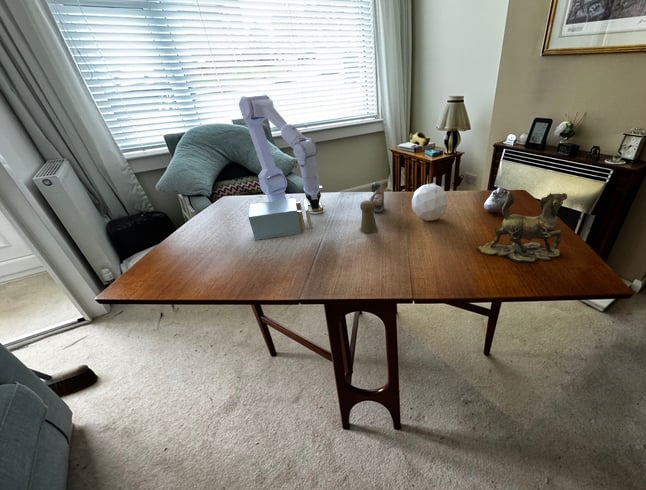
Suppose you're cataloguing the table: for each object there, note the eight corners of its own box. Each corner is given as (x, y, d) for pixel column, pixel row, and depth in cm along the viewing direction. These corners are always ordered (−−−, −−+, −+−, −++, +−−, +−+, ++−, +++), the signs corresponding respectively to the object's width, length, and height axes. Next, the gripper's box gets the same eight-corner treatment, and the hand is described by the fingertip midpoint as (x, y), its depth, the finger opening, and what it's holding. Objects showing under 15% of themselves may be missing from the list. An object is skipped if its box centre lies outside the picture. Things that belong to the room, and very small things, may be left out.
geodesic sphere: (463, 208, 114) (449, 172, 113) (434, 218, 107) (419, 180, 107) (439, 220, 127) (427, 188, 127) (413, 229, 121) (399, 195, 120)
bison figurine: (384, 214, 126) (383, 190, 121) (367, 214, 126) (366, 191, 121) (384, 203, 136) (383, 181, 130) (368, 204, 136) (367, 181, 131)
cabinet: (299, 219, 125) (294, 198, 119) (301, 232, 115) (296, 210, 109) (256, 226, 121) (250, 204, 116) (255, 240, 111) (248, 217, 106)
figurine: (565, 265, 91) (589, 200, 79) (478, 259, 95) (489, 197, 83) (554, 244, 101) (573, 184, 90) (476, 240, 105) (485, 182, 94)
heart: (513, 211, 124) (513, 181, 118) (507, 219, 117) (507, 188, 112) (488, 210, 129) (487, 182, 124) (481, 218, 123) (480, 189, 117)
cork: (377, 226, 117) (376, 198, 111) (375, 233, 112) (374, 204, 106) (362, 225, 118) (360, 198, 112) (359, 232, 113) (357, 204, 107)
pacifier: (323, 214, 128) (326, 209, 133) (321, 200, 125) (324, 195, 129) (306, 215, 129) (310, 209, 134) (303, 201, 125) (307, 195, 130)
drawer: (322, 214, 126) (320, 197, 122) (326, 226, 117) (323, 208, 113) (270, 222, 121) (265, 205, 117) (269, 234, 112) (264, 216, 108)
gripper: (323, 180, 106) (328, 216, 113) (318, 169, 117) (323, 203, 125) (302, 182, 104) (309, 219, 112) (299, 171, 116) (306, 205, 123)
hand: (315, 211), depth 118 cm, fingers closed, pressing on drawer
